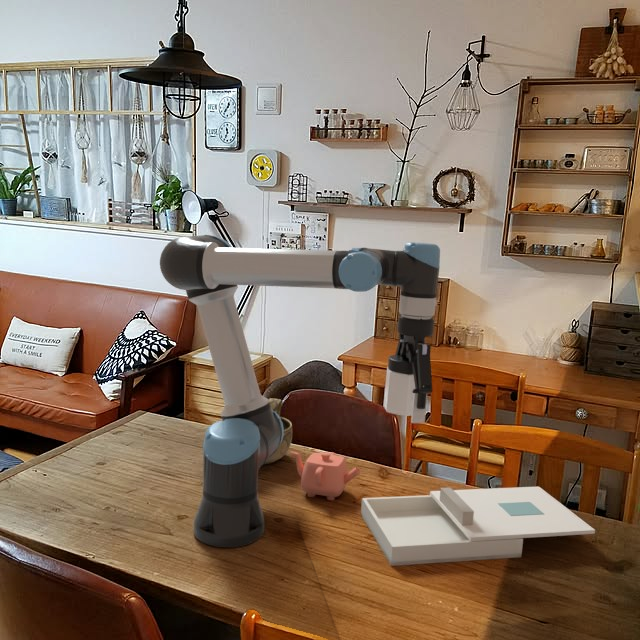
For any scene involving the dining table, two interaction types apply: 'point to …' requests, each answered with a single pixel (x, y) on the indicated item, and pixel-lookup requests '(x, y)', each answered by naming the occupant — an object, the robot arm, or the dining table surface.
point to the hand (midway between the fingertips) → (407, 412)
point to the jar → (399, 386)
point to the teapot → (324, 474)
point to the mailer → (426, 533)
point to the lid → (508, 513)
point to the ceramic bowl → (287, 435)
